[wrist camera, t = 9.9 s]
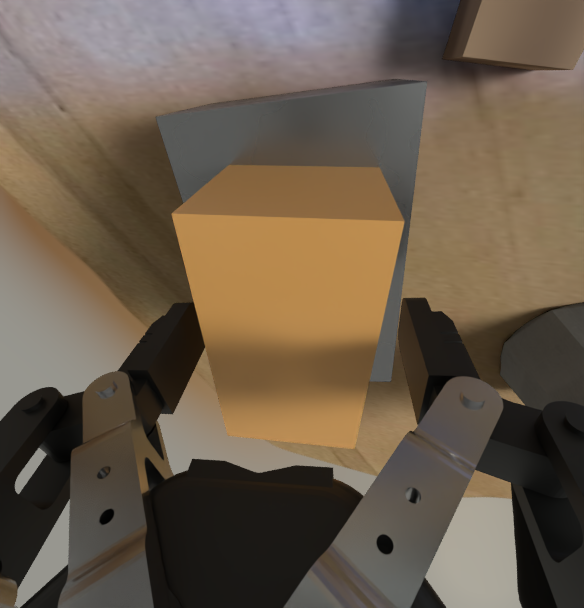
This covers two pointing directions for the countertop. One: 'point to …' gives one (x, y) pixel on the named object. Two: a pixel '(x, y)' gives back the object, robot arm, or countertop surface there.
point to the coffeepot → (537, 394)
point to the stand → (311, 151)
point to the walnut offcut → (518, 33)
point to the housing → (291, 294)
